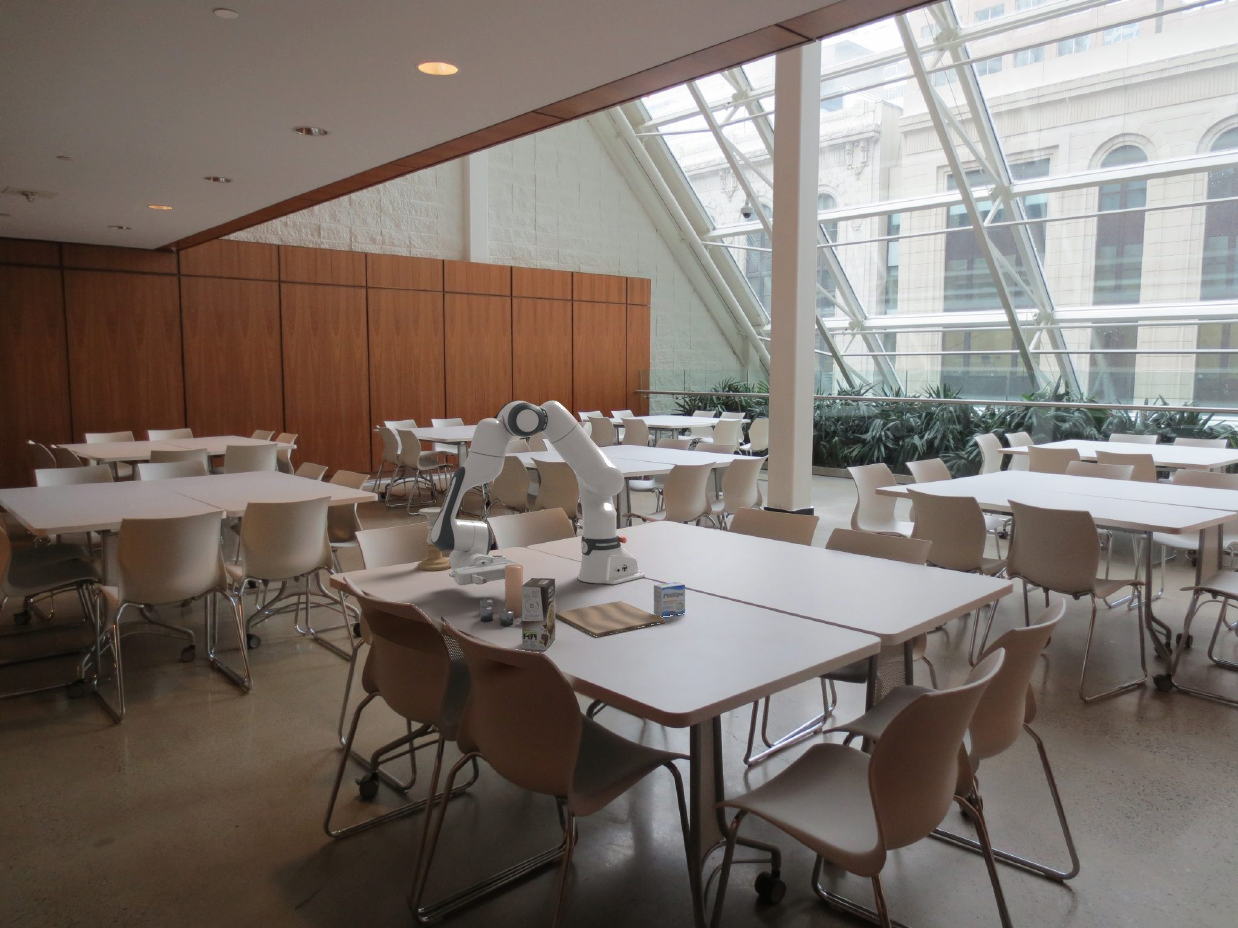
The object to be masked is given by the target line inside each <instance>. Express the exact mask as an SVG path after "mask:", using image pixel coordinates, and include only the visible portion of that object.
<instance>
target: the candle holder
mask: <svg viewBox="0 0 1238 928" xmlns="http://www.w3.org/2000/svg"><path fill="white" fill-rule="evenodd" d="M440 510H441V507H440V506H439V507H435V506H434V507H425V508H421V509H419V510H418V514H419V515H422V516H426V518H427V519H428V521H429V522H428V524H427V525H426V526H427V527H426V528H427V529H428V533H427V534H428V535H427V538H426V542H427V543H428V545H427V546H426V550H427V551H428V556H427V557H426V558H424V559H422V560H421V561H419V562H417V564H416V565H417V566H416V567H417V569H418V570H421V569H422V570H421V571H425V572H427V571H430V572H433V571H434V572H435V571H436V572H437V571H444V570H449V569H452V568H451V566H450V564H449V557H445V556H444V557H443V551H440V550H439V549H437V548H436V547H435V545H434V544H433V543H432V541H431V531H432V528H433V525H434V523H435V521H436V519H437V517H438V515H439V513H440Z"/></svg>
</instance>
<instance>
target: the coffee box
mask: <svg viewBox="0 0 1238 928" xmlns="http://www.w3.org/2000/svg"><path fill="white" fill-rule="evenodd" d="M555 613H556V578H552V577H551V578H549V577H548V578H547V577H542V578H541V577H540V578H538V577H531V578H530V579H529V580H528V581H526V582H525V583H523V586H522V617H521V649H522V650H534V651H544V650H545V651H547V649H548V648H549V647H550V646H551V645H552V644H553V643H554V642H555V641H556V617H555Z"/></svg>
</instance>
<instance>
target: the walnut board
mask: <svg viewBox="0 0 1238 928" xmlns="http://www.w3.org/2000/svg"><path fill="white" fill-rule="evenodd" d="M555 618H557V619H559V620H562V621H563V622H566V623H568V624H569V625H571V624H572V625H571V626H573V627H575V626H576V627H575V628H577V627H578V628H577V629H578V630H579V629H580V630H581V629H582V630H581V631H583V630H584V631H583V632H585V631H586V632H585V633H587V632H588V633H587V634H589V633H591V634H592V635H591V634H590V635H591V636H593V635H595V636H599V637H603V636H602V635H604V636H608V635H607V634H609V635H611V634H610V633H614V634H617V633H616V632H619V633H622V632H621V631H624V632H626V631H625V630H629V631H632V630H631V629H634V630H637V629H636V628H638V627H642V626H648V627H650V626H649V625H651V624H657V623H663V622H665V623H666V619H665V618H661V617H659V616H657V615H655V614H654V613H650V612H648V611H646V610H644V609H640V608H639V607H636V606H633V605H632V604H629V603H626V602H624V601H622V600H618V601H612V602H608V603H602V604H596V605H595V604H594V605H590V606H584V607H579V608H574V609H568V610H561V611H557V612H556V611H555ZM663 624H664V623H663ZM638 629H639V628H638ZM595 636H594V637H595Z"/></svg>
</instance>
